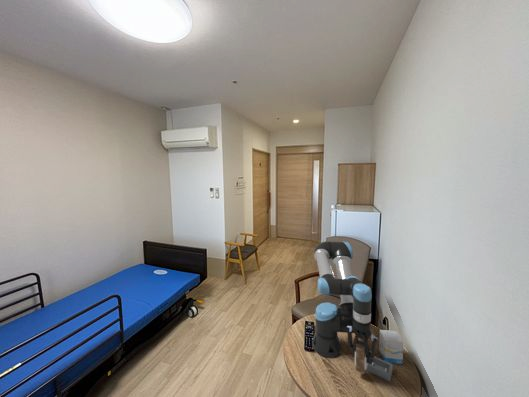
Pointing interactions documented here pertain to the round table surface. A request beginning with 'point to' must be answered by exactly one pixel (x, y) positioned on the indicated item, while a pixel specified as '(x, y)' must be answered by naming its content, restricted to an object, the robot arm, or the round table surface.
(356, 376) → the round table surface
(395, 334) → the ink box
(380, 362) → the grey tray with pegs
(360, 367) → the wooden beam
